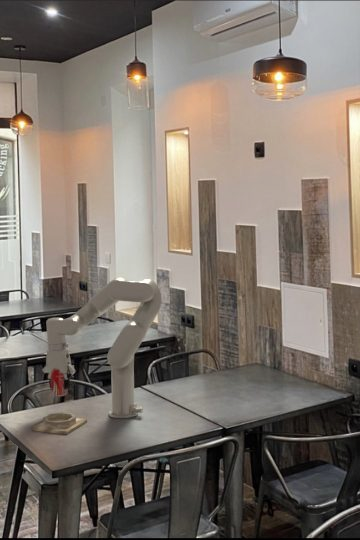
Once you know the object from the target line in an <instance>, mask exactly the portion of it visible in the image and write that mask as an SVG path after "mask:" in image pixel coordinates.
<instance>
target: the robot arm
mask: <svg viewBox="0 0 360 540" xmlns="http://www.w3.org/2000/svg"><path fill="white" fill-rule="evenodd" d="M119 302H128V303H129V302H132V303H139V306H137V308H136V310H135V312H134V313H133V315H132V317H131V318H130V320H128V321H129V322H127V323H126V324H125V326H123V328H122V329H121V331H120V332H119V334H118V335H117V337H116V339H115V341H114V342H113V343H112V345H111V347H110V349H109V350H108V353H107V359H106V360H107V362H108V365H110V366H111V368H110V370H111V379H110V381H111V409H110V410H109V411H108V416H109V417H111V418H114V419H130V418H134V417H136V416H137V415H138V414H139V413H140V414H141V413H143V412H144V409H143V406H138V404H137V402H135V372H134V371H135V370H134V369H135V367H134V366H135V354H136V352H137V350H138V349H139V348H140V345H141V344H142V342H143V341H144V339H145V337H146V335H147V333H148V331H149V329H150V327H151V325H153V322H154V321H155V319H156V317H157V316H158V313H159V311H160V309H161V306H162V292H161V290H160V287H159V285H158V284H157V282H155V281H154V280H153V279H148V278H145V279H142V280H140V281H131V280H126V279H125V278H123V277H116V278H114V279H112V280H111V281H109V282H108V283H107V284H105V286H104V287H103V288H102V289H101V290H99V291H98V292H96V294H94V295H93V296H92V297H90V299H89V301H88V302H87V303H86V304H85V305H83V306H82V307H81V308H80V309H78V310H77V312H75V313H74V314H73V315H70V317H68V318H63V317H51V318H48V319H47V320H46V322H45V323H46V335H47V350H46V356H45V359H46V360H45V363H46V364H45V366H44V367H43V368H42V370H41V371H42V372H43V374H44V375H45V376H46V378H47V379H48V381H49V384H48V385H49V389H51V371H52V370H53V369H59V370H60V371H61V373H63V374H64V378H65V380H64V387H65V389H70V386H71V382H70V379H71V378H72V377H73V375H74V374H75V373H76V369H75V368H74V367H73V366H72V361H71V356H70V351H69V349H68V348H69V344H67V341H66V336H68V337H69V336H70V337H73V336H74V337H75V336H76V335H78V334H79V333H80V332H81V331H82V330H84V329H85V328H86V327H87V326H89V325H90V324H91V323H92V322H93V321H95V320H96V319H97V318H98V317H101V316H102V315H104V314H105V313H106V312H107V311H109V310H110V309H111V308H112V307H114V306H115V305H116V304H118V303H119ZM66 373H67V375H66Z"/></svg>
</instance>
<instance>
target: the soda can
mask: <svg viewBox="0 0 360 540" xmlns="http://www.w3.org/2000/svg"><path fill="white" fill-rule="evenodd" d="M66 375H67V373H66ZM64 380H65V378H64V374H63V373H61V371H60V370H59V369H53V370H52V371H51V388H50V392H51V395H53V397H64V396H66V395H67V394H68V389H69V388H68V389H65V387H64Z"/></svg>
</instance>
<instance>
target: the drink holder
mask: <svg viewBox="0 0 360 540" xmlns="http://www.w3.org/2000/svg"><path fill="white" fill-rule="evenodd" d="M87 422H88V418H79V417H76V415H75V414H74V413H72V412H56V413H50V414H47V415H46V416H44V417H43V421H41V422H39V423H37V424H36V425H33V426H31V431H34V432H35V431H36V432H42V433H51V434H58V435H59V434H60V435H69V434H71V433H72V432H74V431H76V430H77V429H78V428H80V427H82V426H83V425H85V424H86V423H87Z"/></svg>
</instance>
